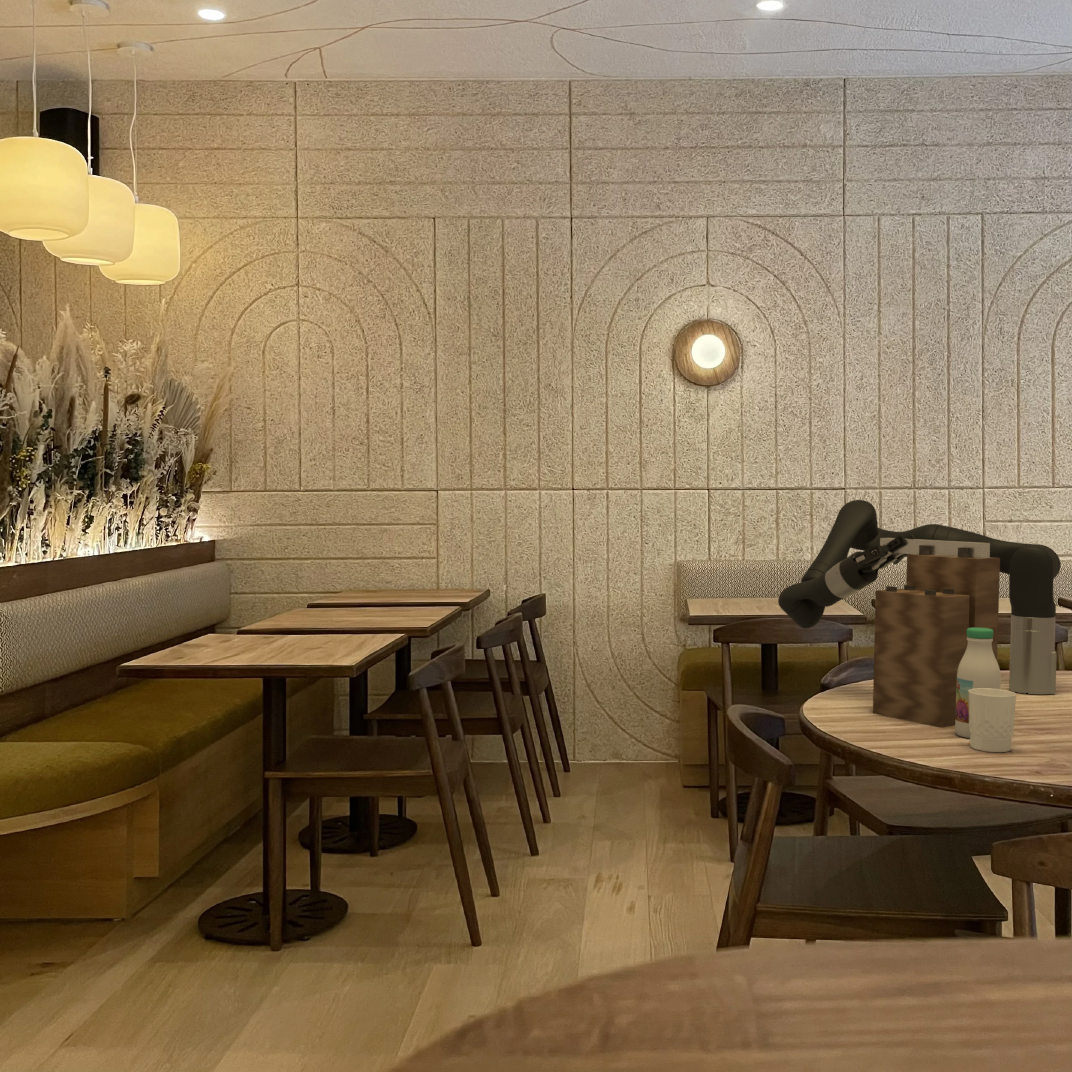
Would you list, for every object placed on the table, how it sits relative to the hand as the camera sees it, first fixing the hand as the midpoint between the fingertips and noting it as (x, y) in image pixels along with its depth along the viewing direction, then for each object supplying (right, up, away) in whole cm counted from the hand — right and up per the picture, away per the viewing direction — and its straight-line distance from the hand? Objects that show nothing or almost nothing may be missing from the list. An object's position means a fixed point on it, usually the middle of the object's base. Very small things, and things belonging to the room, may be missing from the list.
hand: (909, 539), depth 241 cm
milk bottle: (+3, -37, -29) cm, 47 cm away
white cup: (+2, -37, -39) cm, 54 cm away
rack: (+2, -35, -10) cm, 37 cm away
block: (+3, -3, -5) cm, 7 cm away
